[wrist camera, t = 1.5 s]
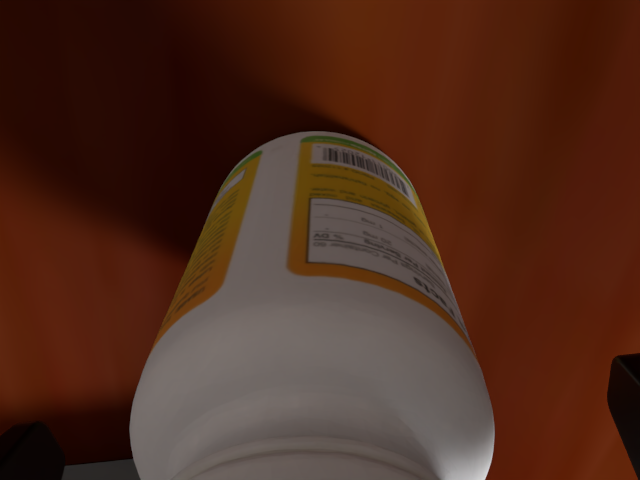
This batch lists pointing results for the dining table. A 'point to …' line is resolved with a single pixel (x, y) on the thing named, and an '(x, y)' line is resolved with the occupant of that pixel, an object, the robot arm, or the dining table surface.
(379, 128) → the dining table surface
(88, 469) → the tote
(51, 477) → the robot arm
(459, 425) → the supplement bottle
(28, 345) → the dining table surface
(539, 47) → the dining table surface
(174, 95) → the dining table surface
